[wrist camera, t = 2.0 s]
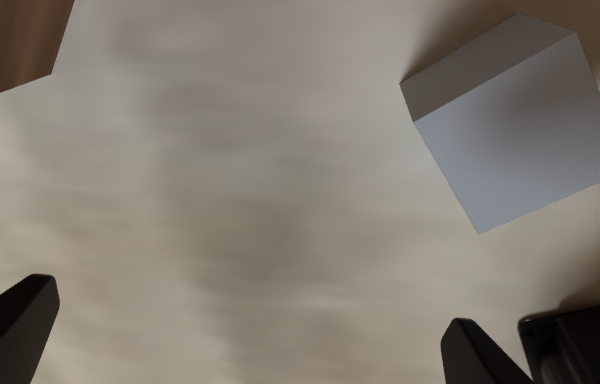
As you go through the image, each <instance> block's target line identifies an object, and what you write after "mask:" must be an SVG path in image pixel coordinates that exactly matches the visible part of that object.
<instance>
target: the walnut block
mask: <svg viewBox="0 0 600 384" xmlns="http://www.w3.org/2000/svg"><path fill="white" fill-rule="evenodd" d="M73 3H74V0H0V93H1V92H4V91H6V90H9V89H12V88H14V87H17V86H20V85H23V84H25V83H28V82H31V81H33V80H36V79H39V78H42V77H44V76H47V75H50V74H51V72H52V69H53V66H54V63H55V59H56V56H57V53H58V50H59V47H60V44H61V41H62V37H63V34H64V31H65V28H66V25H67V22H68V18H69V15H70V12H71V9H72V6H73Z"/></svg>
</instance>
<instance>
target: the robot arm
mask: <svg viewBox="0 0 600 384" xmlns="http://www.w3.org/2000/svg"><path fill="white" fill-rule="evenodd" d="M59 306H60V299H59V294H58V290H57V285H56V280H55V278H54V277H53V276H52V275H46V274H31V275H29V276H27V277H26V278H24V279H23V280H21V281H20V282H18V283H17V284H15V285H14V286H12V287H11V288H9V289H8V290H6V291H5V292H3V293H2V294H0V384H30V383H31V381H32V378H33V376H34V374H35V371H36V369H37V366H38V363H39V361H40V358H41V356H42V353H43V350H44V348H45V345H46V342H47V340H48V337H49V335H50V332H51V329H52V327H53V324H54V321H55V319H56V316H57V314H58V311H59ZM529 330H530V331H529ZM518 333H519V337H520V340H521V343H522V347H523V350H524V353H525V357H526V360H527V363H528V366H529V370H530V373H531V376H532V380H533V381H532V380H531V379H530V378H529V377H528V376H527V375H526V373H525V372H524V371H523V370H522V369H521V368H520V367H519V366H518V365H517V364H516V363H515V362H514V361H513V360H512V359H511V358H510V357H509V356H508V355H507V354H506V353H505V352H504V351H503V350H502V349H501V348H500V347H499V346H498V345H497V344H496V343H495V342H494V341H493V340H492V339H491V338H490V337H489V336H488V335H487V334H486V333H485V331H484V330H483V329H482V328H481V327H480V326H479V325H478V324H477V323H476V322H475V321H473V320H472V319H467V318H454V319H453V320H452V322H451V323H450V325H449V327H448V328H447V330H446V332H445V333H444V335H443V337H442V339H441V354H442V361H443V367H444V374H445V381H446V384H600V306H597V307H592V308H587V309H583V310H578V311H573V312H569V313H564V314H559V315H554V316H550V317H545V318H540V319H536V320H531V321H526V322H523V323H521V324H520V325H519V326H518Z"/></svg>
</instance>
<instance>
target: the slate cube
mask: <svg viewBox="0 0 600 384" xmlns="http://www.w3.org/2000/svg"><path fill="white" fill-rule="evenodd" d="M400 87H401V90H402V93H403V96H404V98H405V101H406V104H407V107H408V109H409V112H410V115H411V118H412V121H413V123H414V125H415V127H416V128H417V130H418V132H419V133H420V135H421V137H422V139H423V140H424V142H425V144H426V145H427V147H428V149H429V151H430V152H431V154H432V156H433V157H434V159H435V161H436V163H437V164H438V166H439V168H440V169H441V171H442V173H443V175H444V176H445V178H446V180H447V182H448V183H449V185H450V187H451V188H452V190H453V192H454V194H455V195H456V197H457V199H458V200H459V202H460V204H461V206H462V207H463V209H464V211H465V212H466V214H467V216H468V218H469V219H470V221H471V223H472V224H473V226H474V228H475V230H476V231H477V233H478V234H481V233H483V232H485V231H488V230H490V229H492V228H495V227H497V226H499V225H502V224H504V223H506V222H509V221H511V220H513V219H516V218H518V217H520V216H523V215H525V214H527V213H530V212H532V211H534V210H537V209H539V208H541V207H544V206H546V205H548V204H550V203H553V202H555V201H557V200H560V199H562V198H564V197H567V196H569V195H571V194H574V193H576V192H578V191H581V190H583V189H585V188H588V187H590V186H592V185H595V184H597V183H599V182H600V92H599V89H598V87H597V84H596V81H595V79H594V76H593V74H592V71H591V68H590V66H589V63H588V61H587V58H586V56H585V53H584V50H583V48H582V45H581V43H580V40H579V37H578V35H577V32H576V31H573V30H570V29H567V28H563V27H560V26H557V25H554V24H551V23H548V22H545V21H542V20H539V19H535V18H532V17H529V16H526V15H523V14H520V13H516V14H515V15H513V16H511V17H510V18H508V19H506V20H505V21H503V22H501V23H500V24H498V25H496V26H495V27H493V28H491V29H490V30H488V31H486V32H485V33H483V34H481V35H480V36H478V37H476V38H475V39H473V40H471V41H470V42H468V43H466V44H465V45H463V46H461V47H460V48H458V49H456V50H455V51H453V52H451V53H450V54H448V55H446V56H445V57H443V58H441V59H440V60H438V61H436V62H435V63H433V64H431V65H430V66H428V67H426V68H425V69H423V70H421V71H420V72H418V73H416V74H415V75H413V76H411V77H410V78H408V79H406V80H405V81H403V82H401V83H400Z"/></svg>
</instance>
